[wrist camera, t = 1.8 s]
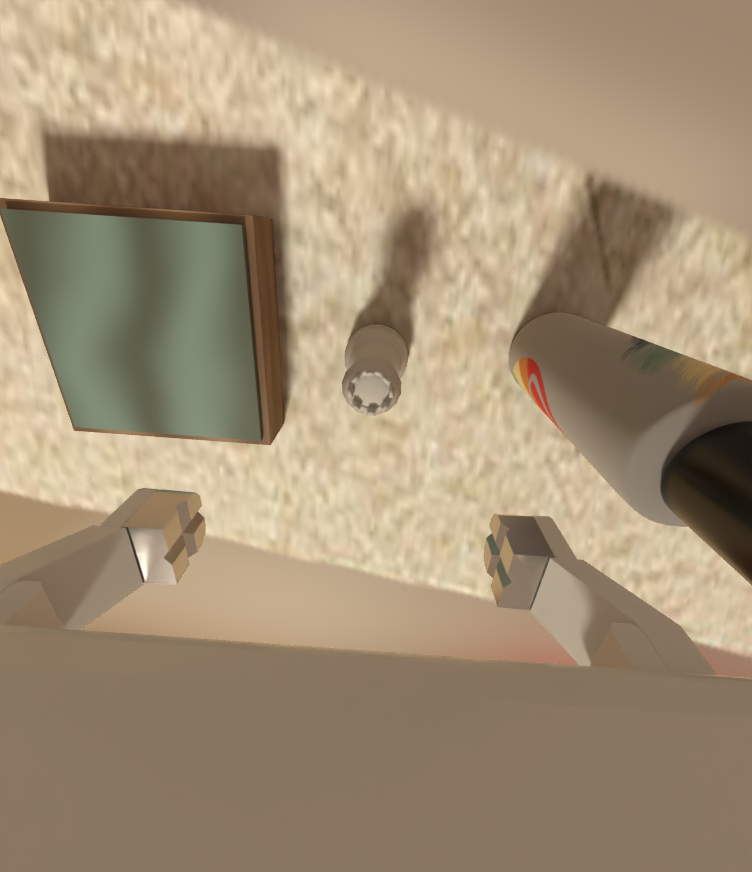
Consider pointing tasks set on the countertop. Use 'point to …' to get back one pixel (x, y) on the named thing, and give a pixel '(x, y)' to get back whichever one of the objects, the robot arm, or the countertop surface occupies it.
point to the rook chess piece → (374, 369)
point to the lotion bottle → (648, 424)
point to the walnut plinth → (155, 317)
